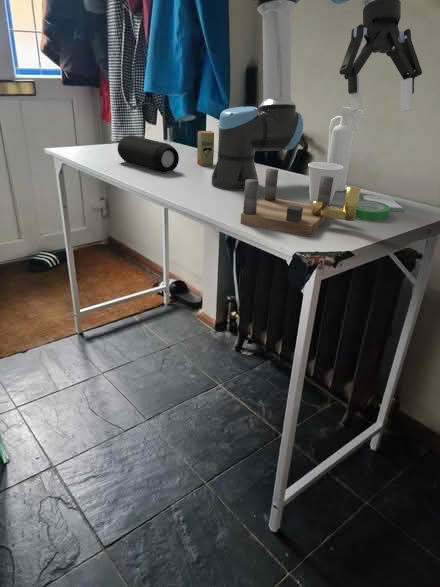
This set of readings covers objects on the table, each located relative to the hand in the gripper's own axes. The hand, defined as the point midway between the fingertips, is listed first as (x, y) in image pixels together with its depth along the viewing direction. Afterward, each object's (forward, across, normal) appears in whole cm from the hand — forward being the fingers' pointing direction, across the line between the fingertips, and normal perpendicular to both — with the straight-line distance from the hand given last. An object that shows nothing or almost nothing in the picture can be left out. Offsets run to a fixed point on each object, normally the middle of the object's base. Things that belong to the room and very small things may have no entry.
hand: (382, 110), depth 98 cm
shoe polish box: (+1, -11, +85) cm, 86 cm away
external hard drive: (+21, +22, +26) cm, 40 cm away
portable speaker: (+2, -34, +84) cm, 91 cm away
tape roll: (+23, +11, +19) cm, 32 cm away
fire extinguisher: (+15, +18, +44) cm, 50 cm away
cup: (+19, +4, +30) cm, 36 cm away
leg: (+22, -5, +12) cm, 26 cm away
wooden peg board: (+22, -14, +20) cm, 33 cm away
